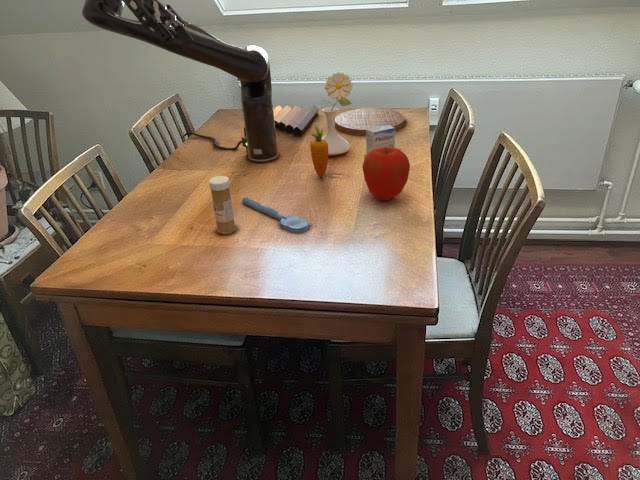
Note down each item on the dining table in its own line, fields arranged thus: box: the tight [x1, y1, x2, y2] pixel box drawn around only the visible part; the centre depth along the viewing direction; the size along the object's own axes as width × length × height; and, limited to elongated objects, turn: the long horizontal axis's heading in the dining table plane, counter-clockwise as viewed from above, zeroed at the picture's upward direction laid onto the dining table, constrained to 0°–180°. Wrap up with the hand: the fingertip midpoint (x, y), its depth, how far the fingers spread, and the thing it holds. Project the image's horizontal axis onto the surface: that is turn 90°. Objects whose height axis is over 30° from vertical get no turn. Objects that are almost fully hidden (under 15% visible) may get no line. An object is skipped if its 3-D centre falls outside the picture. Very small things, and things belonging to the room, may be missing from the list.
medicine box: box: [365, 125, 396, 156], centre depth 161 cm, size 8×4×9 cm, turn 118°
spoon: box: [241, 196, 309, 234], centre depth 132 cm, size 24×5×2 cm, turn 45°
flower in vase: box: [321, 71, 354, 156], centre depth 161 cm, size 13×11×25 cm
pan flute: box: [273, 104, 319, 137], centre depth 194 cm, size 25×3×25 cm
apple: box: [361, 147, 411, 201], centre depth 134 cm, size 12×12×14 cm
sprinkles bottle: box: [208, 175, 237, 235], centre depth 123 cm, size 5×5×13 cm
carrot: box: [309, 125, 329, 179], centre depth 147 cm, size 5×5×15 cm
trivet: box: [335, 107, 405, 136], centre depth 190 cm, size 25×25×2 cm
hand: (181, 42), depth 114 cm, fingers open, 8 cm apart
